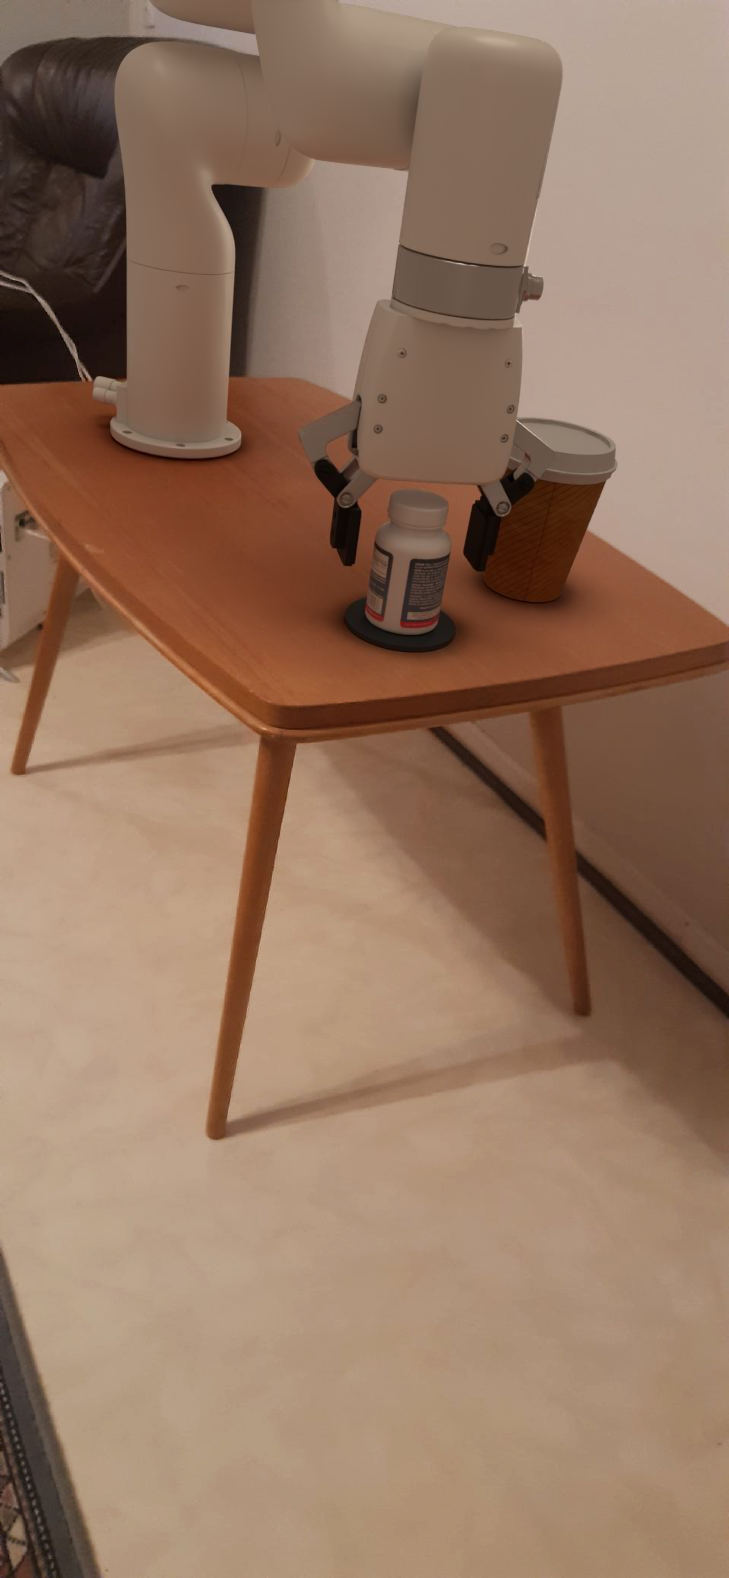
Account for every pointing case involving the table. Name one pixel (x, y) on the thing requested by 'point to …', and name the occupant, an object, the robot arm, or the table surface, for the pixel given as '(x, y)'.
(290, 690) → the table surface
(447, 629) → the corner coaster
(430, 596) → the pill bottle
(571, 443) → the disposable coffee cup
